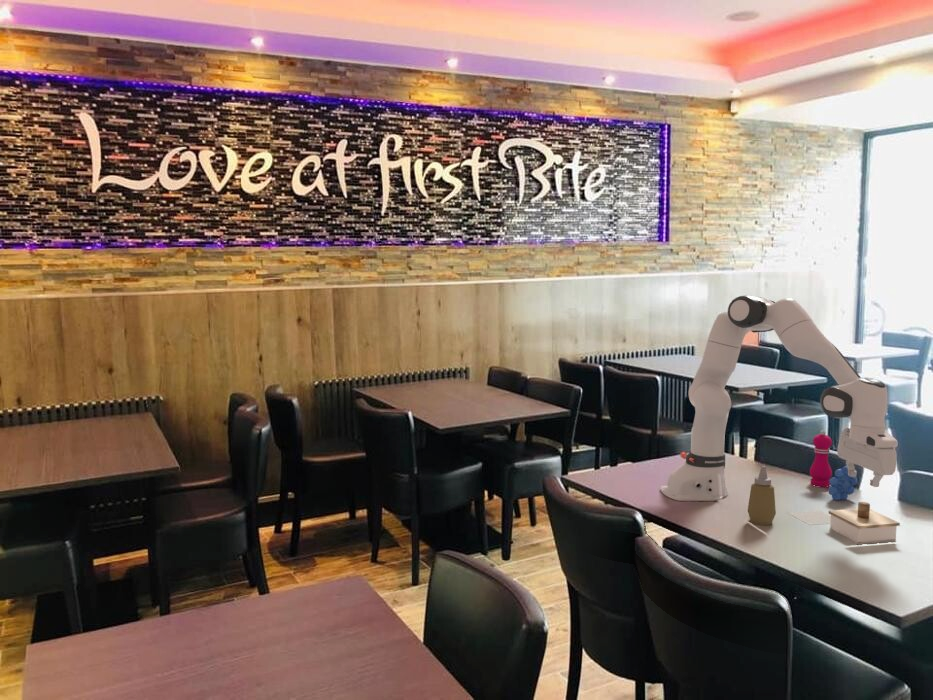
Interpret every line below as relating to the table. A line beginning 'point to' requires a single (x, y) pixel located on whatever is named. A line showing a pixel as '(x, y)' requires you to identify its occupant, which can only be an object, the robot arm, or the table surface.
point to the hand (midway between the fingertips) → (863, 481)
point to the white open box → (863, 532)
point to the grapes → (842, 484)
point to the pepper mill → (821, 461)
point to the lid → (863, 517)
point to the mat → (812, 517)
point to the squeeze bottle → (762, 500)
